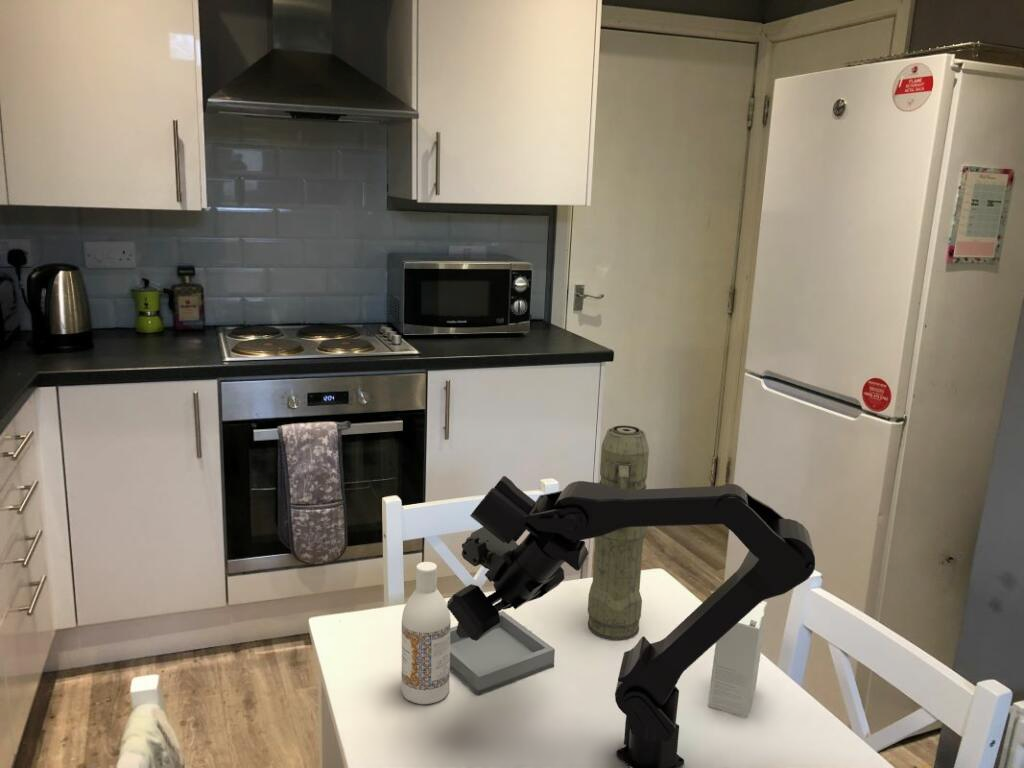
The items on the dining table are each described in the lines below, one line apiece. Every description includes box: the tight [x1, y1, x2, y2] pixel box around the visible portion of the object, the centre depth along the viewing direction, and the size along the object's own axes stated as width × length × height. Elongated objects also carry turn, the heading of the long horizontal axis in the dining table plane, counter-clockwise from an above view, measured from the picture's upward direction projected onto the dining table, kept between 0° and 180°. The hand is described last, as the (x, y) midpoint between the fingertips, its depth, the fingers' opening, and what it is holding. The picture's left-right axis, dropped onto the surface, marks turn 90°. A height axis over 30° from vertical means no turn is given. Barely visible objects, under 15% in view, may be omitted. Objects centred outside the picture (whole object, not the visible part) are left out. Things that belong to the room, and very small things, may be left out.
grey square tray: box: [450, 610, 556, 696], centre depth 131 cm, size 14×14×3 cm
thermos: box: [587, 424, 650, 642], centre depth 138 cm, size 9×12×35 cm
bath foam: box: [401, 561, 451, 705], centre depth 120 cm, size 7×7×20 cm
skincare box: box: [707, 600, 768, 718], centre depth 122 cm, size 8×6×15 cm
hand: (481, 620), depth 117 cm, fingers open, 9 cm apart
